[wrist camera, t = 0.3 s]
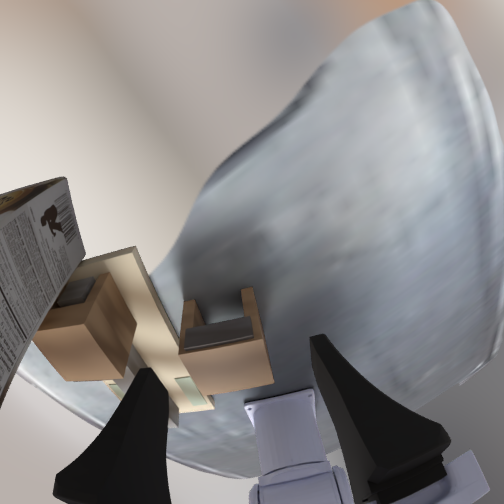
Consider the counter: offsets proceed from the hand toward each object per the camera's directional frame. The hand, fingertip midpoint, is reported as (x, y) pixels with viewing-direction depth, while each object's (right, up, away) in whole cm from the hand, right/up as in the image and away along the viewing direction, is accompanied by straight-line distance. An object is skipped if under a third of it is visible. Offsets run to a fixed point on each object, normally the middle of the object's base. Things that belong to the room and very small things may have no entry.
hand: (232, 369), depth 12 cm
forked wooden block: (-1, 0, +11) cm, 11 cm away
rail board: (-10, -4, +12) cm, 16 cm away
